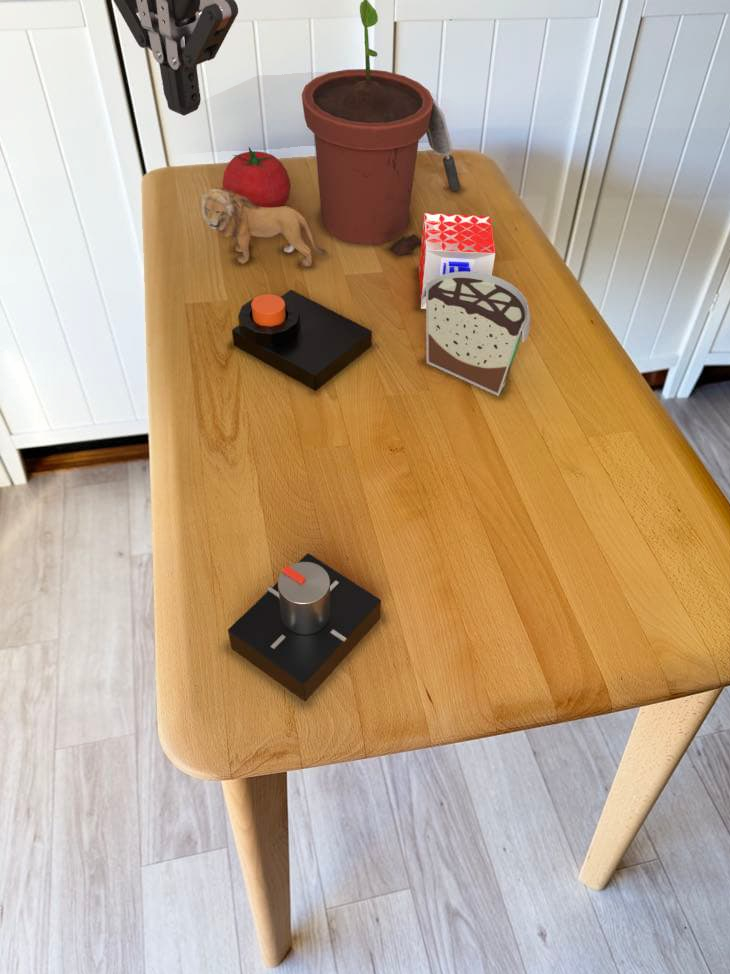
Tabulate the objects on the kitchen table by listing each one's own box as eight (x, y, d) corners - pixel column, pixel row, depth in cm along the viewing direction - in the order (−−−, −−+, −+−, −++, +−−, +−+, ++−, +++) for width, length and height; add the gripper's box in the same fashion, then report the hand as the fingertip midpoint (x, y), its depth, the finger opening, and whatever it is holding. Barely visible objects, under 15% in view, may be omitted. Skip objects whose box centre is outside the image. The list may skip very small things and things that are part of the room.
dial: (340, 610, 67) (340, 576, 63) (308, 643, 65) (307, 610, 61) (303, 585, 68) (300, 551, 64) (271, 617, 66) (266, 583, 62)
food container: (536, 372, 92) (554, 296, 84) (510, 401, 89) (527, 325, 81) (442, 331, 96) (452, 255, 88) (415, 357, 92) (422, 281, 84)
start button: (270, 331, 88) (269, 318, 87) (245, 318, 89) (244, 304, 88) (292, 316, 90) (291, 302, 89) (267, 303, 91) (266, 289, 90)
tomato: (211, 211, 109) (203, 152, 102) (257, 186, 113) (252, 128, 107) (260, 236, 106) (255, 176, 99) (305, 210, 110) (303, 151, 104)
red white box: (481, 274, 103) (490, 216, 97) (485, 311, 99) (495, 253, 92) (418, 271, 103) (423, 212, 97) (420, 308, 98) (425, 249, 92)
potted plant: (307, 182, 115) (300, -23, 95) (459, 187, 117) (482, -14, 97) (304, 253, 104) (296, 37, 84) (472, 257, 106) (502, 47, 86)
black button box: (314, 392, 88) (313, 363, 85) (230, 345, 92) (226, 316, 89) (371, 346, 93) (372, 317, 90) (290, 304, 97) (288, 274, 94)
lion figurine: (208, 270, 100) (197, 201, 93) (208, 246, 104) (198, 178, 96) (327, 267, 102) (326, 199, 95) (324, 244, 105) (322, 176, 98)
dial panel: (306, 703, 65) (304, 684, 62) (230, 648, 68) (226, 627, 65) (381, 619, 70) (382, 599, 68) (308, 572, 73) (306, 550, 70)
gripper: (35, -166, 55) (96, 100, 69) (175, -122, 51) (210, 152, 65) (121, -182, 59) (161, 73, 73) (256, -142, 55) (273, 120, 69)
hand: (184, 110), depth 69 cm, fingers closed
